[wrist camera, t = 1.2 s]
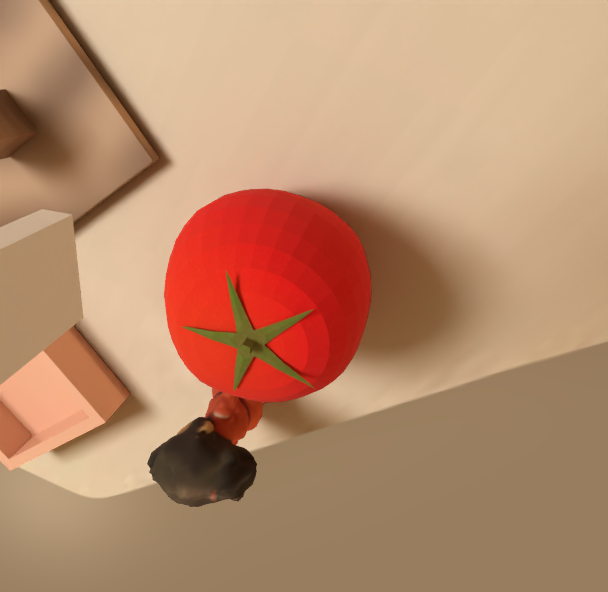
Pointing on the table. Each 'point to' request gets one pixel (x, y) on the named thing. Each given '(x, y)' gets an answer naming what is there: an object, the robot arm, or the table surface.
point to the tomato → (267, 295)
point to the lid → (58, 120)
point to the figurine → (209, 454)
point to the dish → (56, 399)
